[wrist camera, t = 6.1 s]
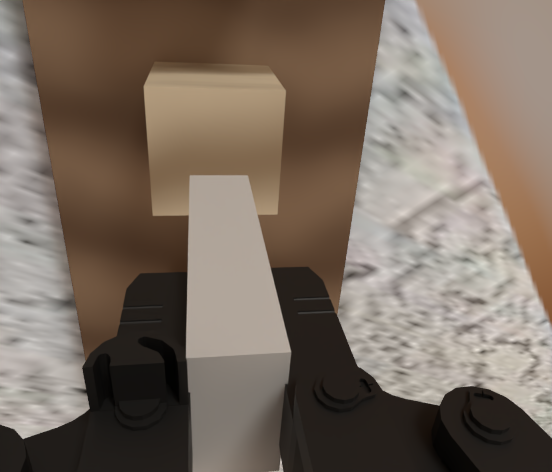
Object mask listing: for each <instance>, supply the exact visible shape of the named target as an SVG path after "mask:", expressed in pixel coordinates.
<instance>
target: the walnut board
mask: <svg viewBox="0 0 552 472" xmlns="http://www.w3.org/2000/svg"><path fill="white" fill-rule="evenodd" d="M384 4H385V0H23V6H24V12H25V17H26V23H27V29H28V35H29V40H30V46H31V52H32V57H33V63H34V69H35V74H36V80H37V86H38V92H39V97H40V103H41V109H42V114H43V120H44V126H45V132H46V137H47V143H48V149H49V154H50V160H51V166H52V171H53V177H54V183H55V189H56V194H57V200H58V206H59V211H60V217H61V223H62V228H63V234H64V240H65V246H66V251H67V257H68V263H69V268H70V274H71V280H72V285H73V291H74V297H75V303H76V308H77V314H78V320H79V325H80V331H81V337H82V343H83V348H84V354H85V360H87V358H88V356H89V354H90V353H91V352H92V351H94V350H95V349H96V348H97V347H98V346H100V345H101V344H102V343H103V342H105V341H107V340H109V339H111V338H114V337H116V336H117V332H118V328H119V325H120V318H121V313H122V310H123V303H124V298H125V293H126V289H127V287H128V286H129V285H130V284H131V283H132V282H133V281H134V280H135V278H136V277H137V276H138V275H139V274H140V273H166V272H188V230H189V215H180V216H153V212H152V198H151V184H150V170H149V156H148V142H147V128H146V114H145V100H144V84H145V82H146V80H147V78H148V75H149V73H150V71H151V69H152V66H153V64H154V62H155V61H156V62H183V63H209V64H236V65H262V66H269V67H270V69H271V70H272V72H273V73H274V74H275V76H276V77H277V79H278V80H279V82H280V83H281V84H282V86H283V87H284V89H285V90H286V97H285V112H284V127H283V141H282V156H281V171H280V185H279V200H278V214H277V215H258V219H259V223H260V227H261V231H262V235H263V239H264V243H265V247H266V251H267V255H268V260H269V264H270V268H278V267H309V268H310V269H311V270H312V271H314V272H315V273H316V274H317V275H318V276H319V277H320V278H321V279H322V280H323V281H324V284H325V286H326V289H327V291H328V294H329V299H331V302H332V304H333V307H334V309H335V313H336V314H337V313H338V306H339V300H340V293H341V286H342V280H343V273H344V267H345V260H346V254H347V247H348V241H349V234H350V227H351V221H352V214H353V208H354V201H355V195H356V188H357V181H358V175H359V168H360V162H361V155H362V149H363V142H364V136H365V129H366V122H367V116H368V109H369V103H370V96H371V90H372V83H373V76H374V70H375V63H376V57H377V50H378V44H379V37H380V31H381V24H382V17H383V11H384Z"/></svg>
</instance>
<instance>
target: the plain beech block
mask: <svg viewBox="0 0 552 472" xmlns="http://www.w3.org/2000/svg"><path fill="white" fill-rule="evenodd" d="M285 97H286V90H285V89H284V87H283V86H282V84H281V83H280V82H279V80H278V79H277V77H276V76H275V74H274V73H273V72H272V70H271V69H270V67H269V66H262V65H236V64H209V63H183V62H156V61H155V62H154V64H153V66H152V69H151V71H150V73H149V75H148V78H147V80H146V82H145V84H144V100H145V114H146V128H147V142H148V156H149V170H150V184H151V198H152V212H153V216H180V215H189V182H190V175H248V178H249V182H250V186H251V190H252V194H253V198H254V202H255V206H256V211H257V215H277V214H278V200H279V185H280V171H281V156H282V141H283V127H284V112H285Z"/></svg>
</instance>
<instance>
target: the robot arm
mask: <svg viewBox="0 0 552 472" xmlns="http://www.w3.org/2000/svg"><path fill="white" fill-rule="evenodd" d="M82 369H83V374H84V379H85V385H86V390H87V395H88V401H89V406H90V409H89V410H88V411H87V412H86V413H84V414H83V415H81V416H80V417H78V418H76V419H75V420H73V421H71V422H69V423H67V424H65V425H62V426H60V427H58V428H55V429H52V430H49V431H46V432H43V433H40V434H37V435H34V436H31V437H28V438H25V439H22V438H21V437H20V435H19V434H18V433H17V432H16V431H15V430H14V429H11V428H8V427H5V426H2V425H0V472H269V471H279V466H280V456H281V459H282V465H283V471H284V472H552V438H551V437H550V436H549V435H548V434H547V433H546V432H545V431H544V430H543V429H542V428H541V427H540V426H539V425H538V424H537V423H535V422H534V421H533V420H532V419H531V418H530V417H529V416H528V415H527V414H526V413H525V412H524V411H523V410H522V409H521V408H520V407H518V406H517V405H516V404H514V403H513V402H512V401H510V400H509V399H508V398H506V397H504V396H502V395H500V394H498V393H495V392H493V391H491V390H489V389H483V388H478V387H473V386H469V387H460V388H455V389H454V390H452V391H450V392H449V393H447V394H445V396H444V398H443V400H442V402H441V404H440V406H438V405H433V404H428V403H423V402H418V401H413V400H408V399H404V398H400V397H397V396H393V395H391V394H389V393H387V392H385V391H383V390H382V389H381V388H380V386H379V385H378V383H377V382H376V380H375V379H374V378H373V377H372V376H371V375H369V374H368V373H367V372H365V371H364V370H363V369H361V368H359V367H358V366H357V364H356V362H355V359H354V357H353V354H352V352H351V349H350V347H349V344H348V342H347V339H346V337H345V334H344V332H343V329H342V327H341V324H340V322H339V319H338V317H337V314H336V313H335V309H334V307H333V304H332V302H331V299H329V294H328V291H327V289H326V286H325V284H324V281H323V280H322V279H321V278H320V277H319V276H318V275H317V274H316V273H315V272H314V271H312V270H311V269H310V268H309V267H278V268H270V264H269V260H268V255H267V251H266V247H265V243H264V239H263V235H262V231H261V227H260V223H259V219H258V215H257V211H256V206H255V202H254V198H253V194H252V190H251V186H250V182H249V178H248V175H190V182H189V230H188V272H166V273H140V274H139V275H138V276H137V277H136V278H135V280H134V281H133V282H132V283H131V284H130V285H129V286H128V287H127V289H126V293H125V298H124V303H123V310H122V313H121V318H120V325H119V328H118V332H117V336H116V337H114V338H111V339H109V340H107V341H105V342H103V343H102V344H101V345H100V346H98V347H97V348H96V349H95V350H94V351H92V352H91V353H90V354H89V356H88V358H87V360H86V362H85V364H84V366H83V367H82Z"/></svg>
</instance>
